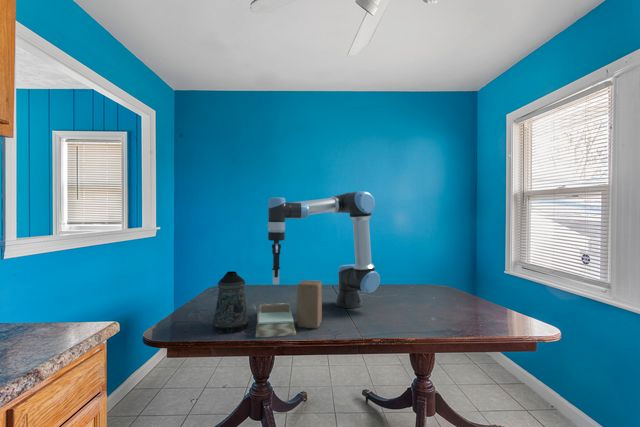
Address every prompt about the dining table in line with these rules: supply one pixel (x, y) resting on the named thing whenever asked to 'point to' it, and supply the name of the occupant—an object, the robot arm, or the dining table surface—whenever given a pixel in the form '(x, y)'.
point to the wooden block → (309, 304)
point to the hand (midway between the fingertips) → (275, 283)
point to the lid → (275, 314)
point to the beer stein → (231, 305)
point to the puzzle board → (274, 327)
